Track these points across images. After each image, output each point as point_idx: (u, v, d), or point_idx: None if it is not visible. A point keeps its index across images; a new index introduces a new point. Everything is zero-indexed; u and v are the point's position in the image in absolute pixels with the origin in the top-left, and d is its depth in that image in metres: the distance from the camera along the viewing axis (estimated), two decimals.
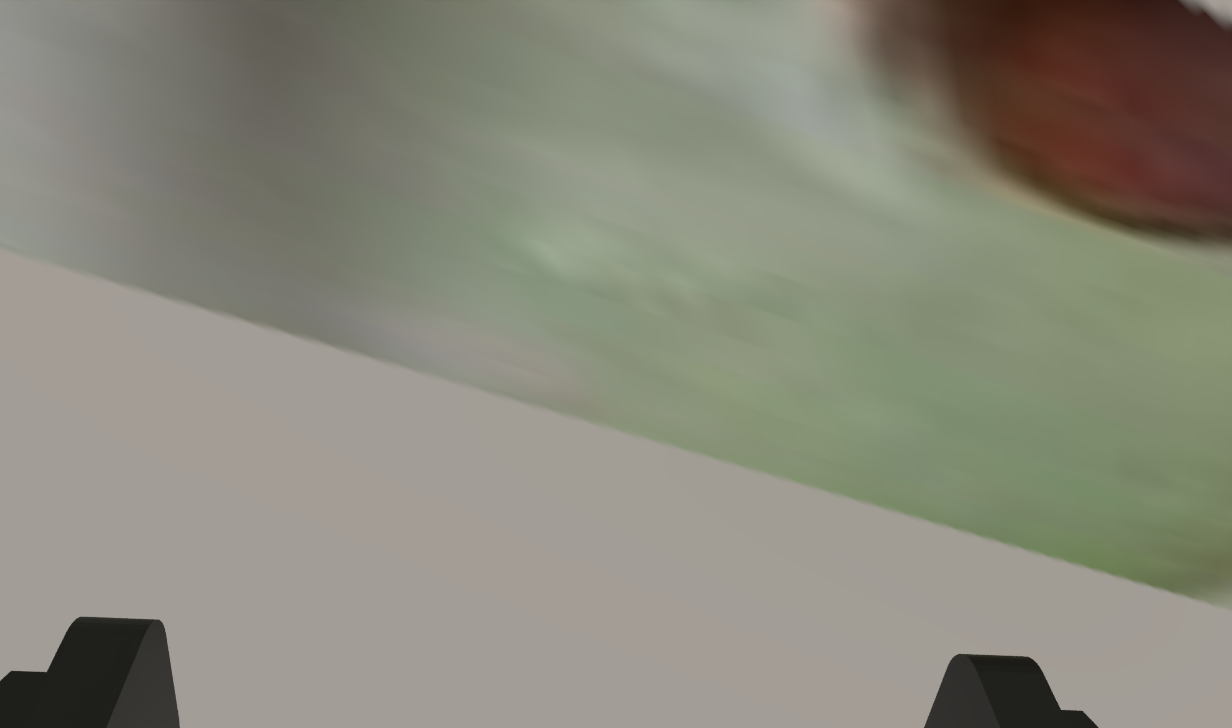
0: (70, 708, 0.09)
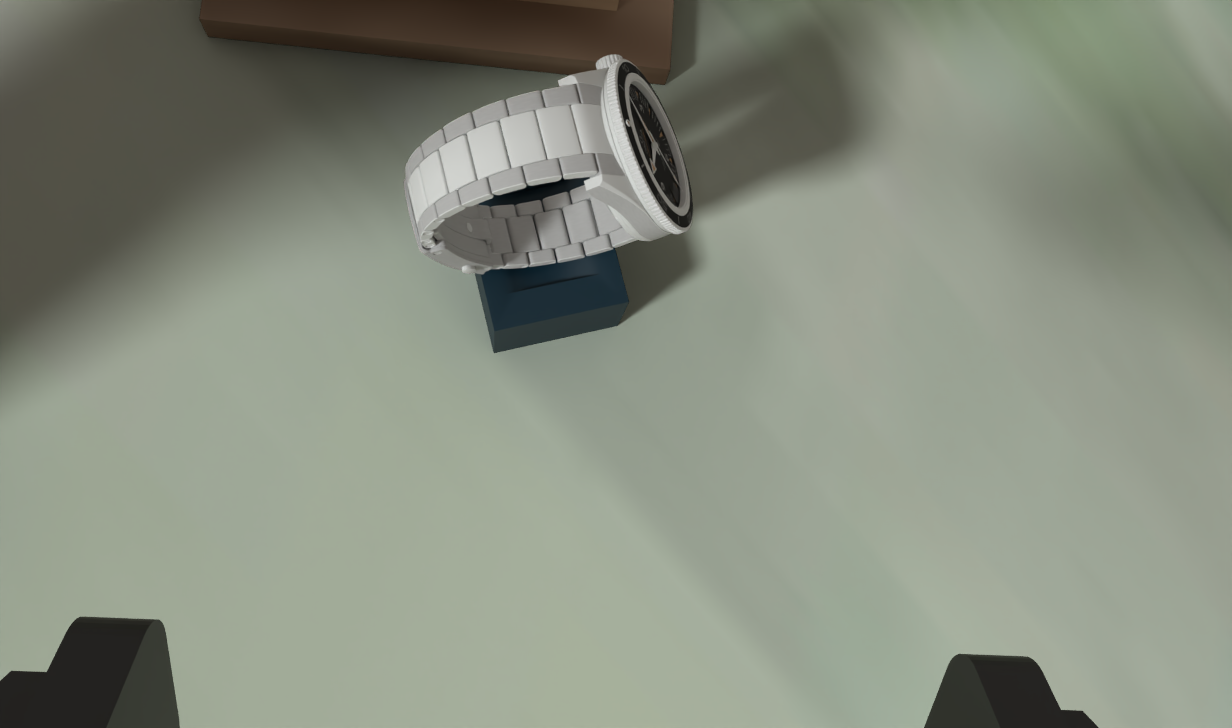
0: (70, 708, 0.09)
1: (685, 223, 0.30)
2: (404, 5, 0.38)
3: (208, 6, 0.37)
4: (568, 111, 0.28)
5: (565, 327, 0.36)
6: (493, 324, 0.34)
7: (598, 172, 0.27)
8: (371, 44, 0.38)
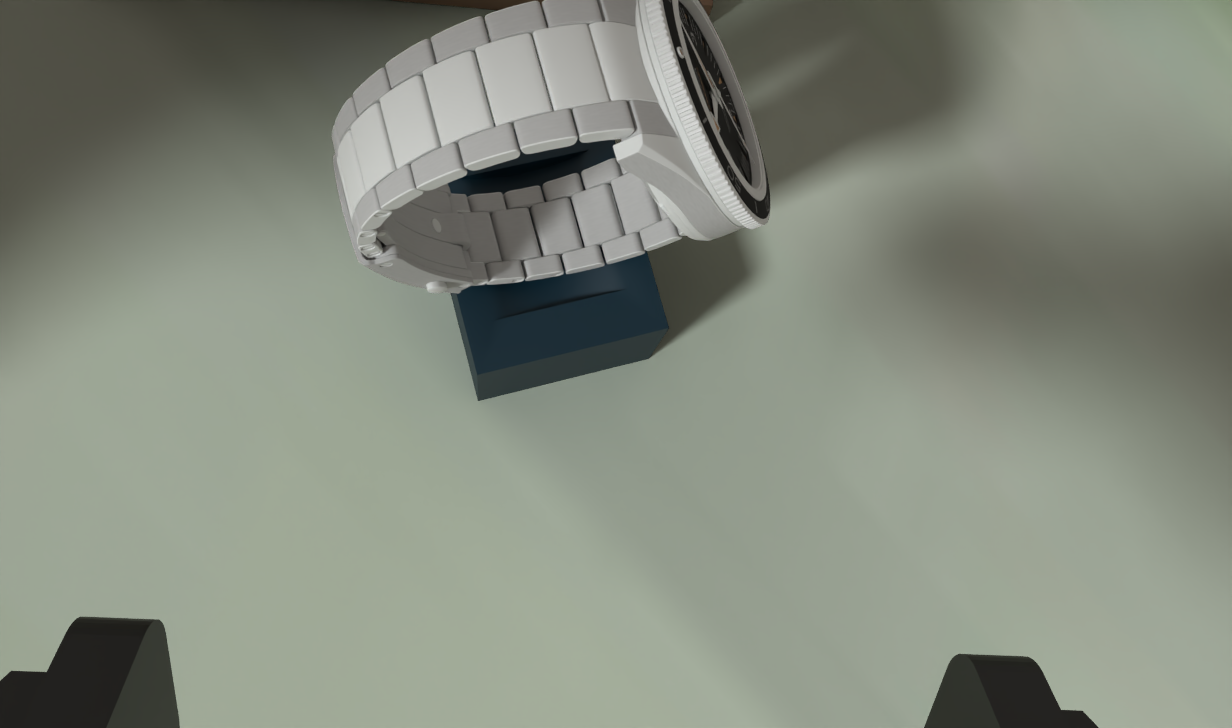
0: (70, 709, 0.09)
1: (764, 212, 0.20)
2: None
3: None
4: (584, 33, 0.17)
5: (578, 364, 0.26)
6: (475, 365, 0.24)
7: (635, 131, 0.17)
8: None
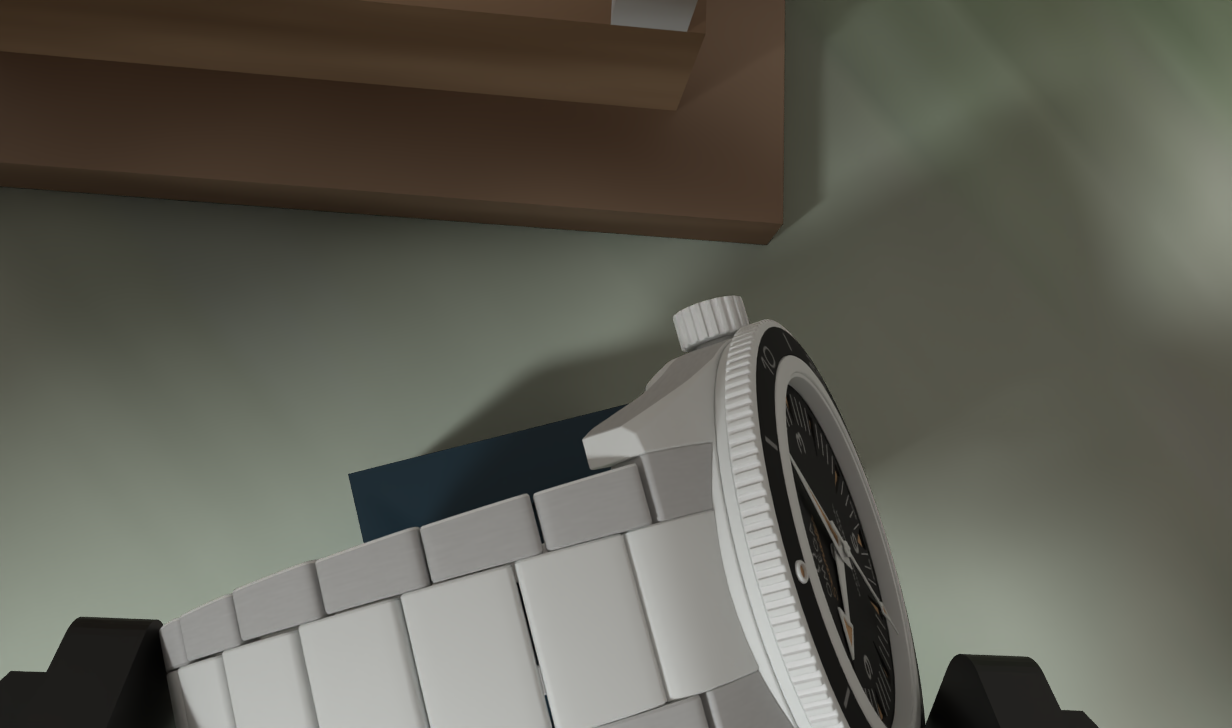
0: (70, 708, 0.09)
1: None
2: (257, 110, 0.19)
3: None
4: (618, 558, 0.09)
5: None
6: None
7: None
8: (195, 187, 0.19)
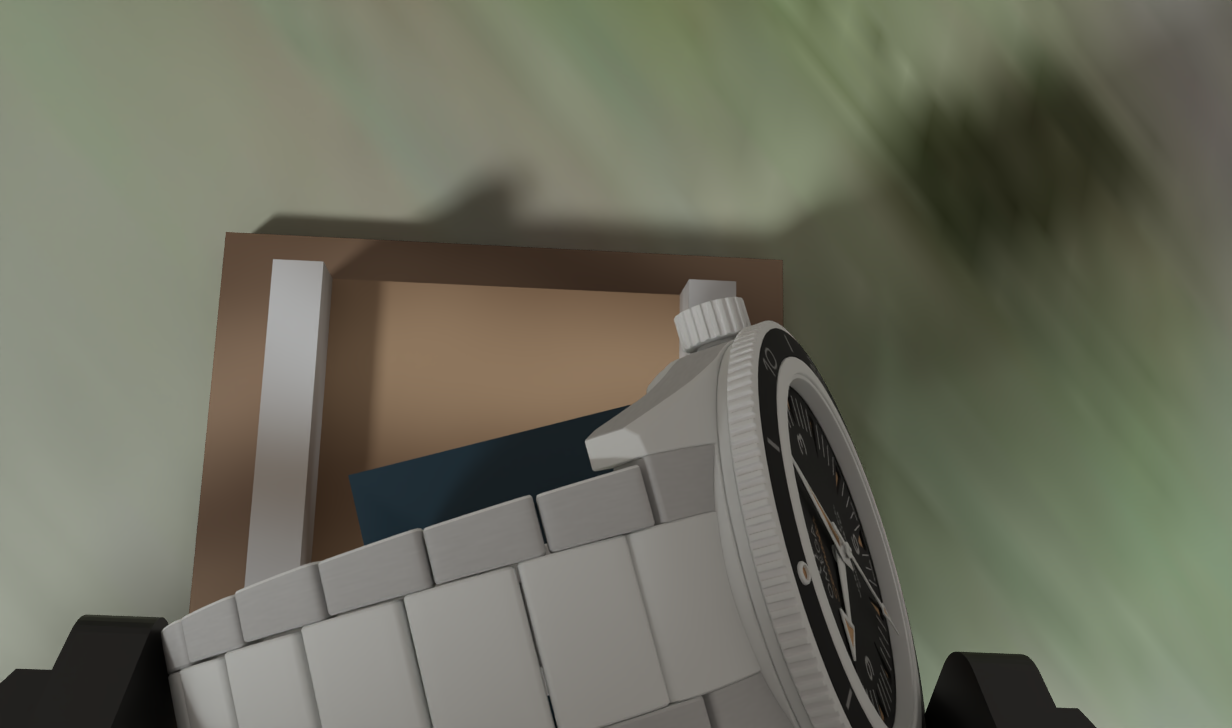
0: (76, 706, 0.09)
1: None
2: None
3: None
4: (621, 559, 0.09)
5: None
6: None
7: None
8: None
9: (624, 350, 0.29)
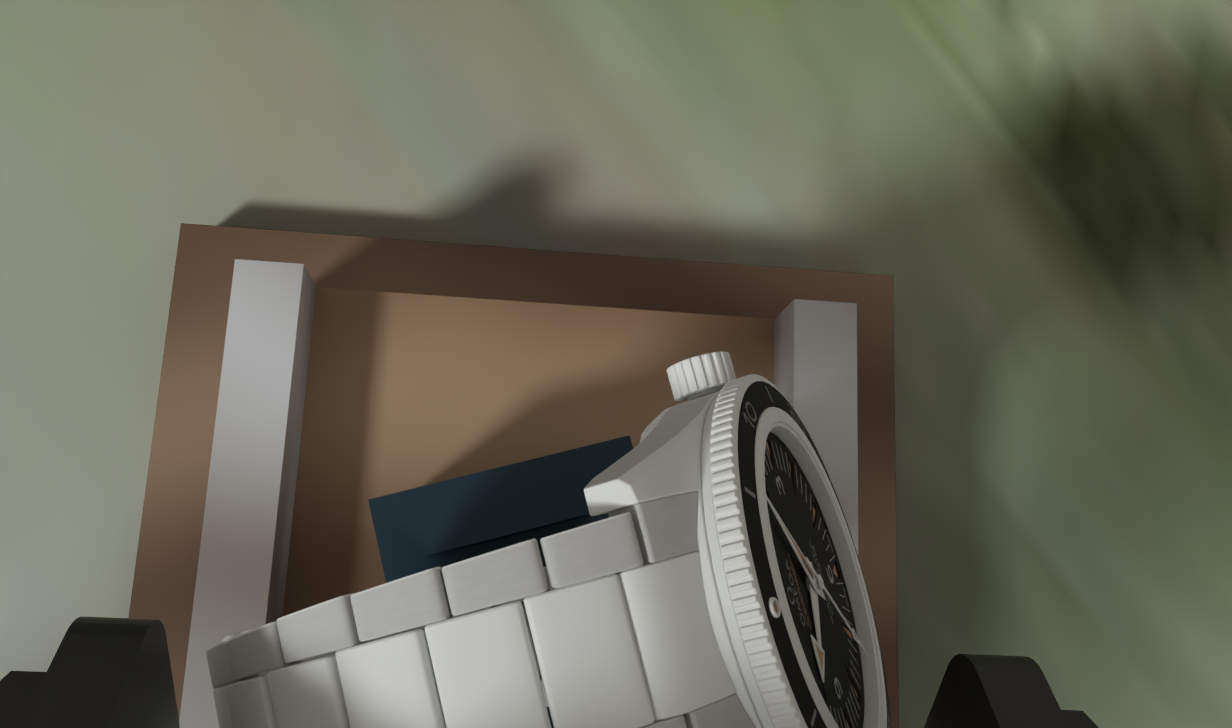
0: (70, 708, 0.09)
1: None
2: None
3: None
4: (613, 595, 0.10)
5: None
6: None
7: None
8: None
9: None
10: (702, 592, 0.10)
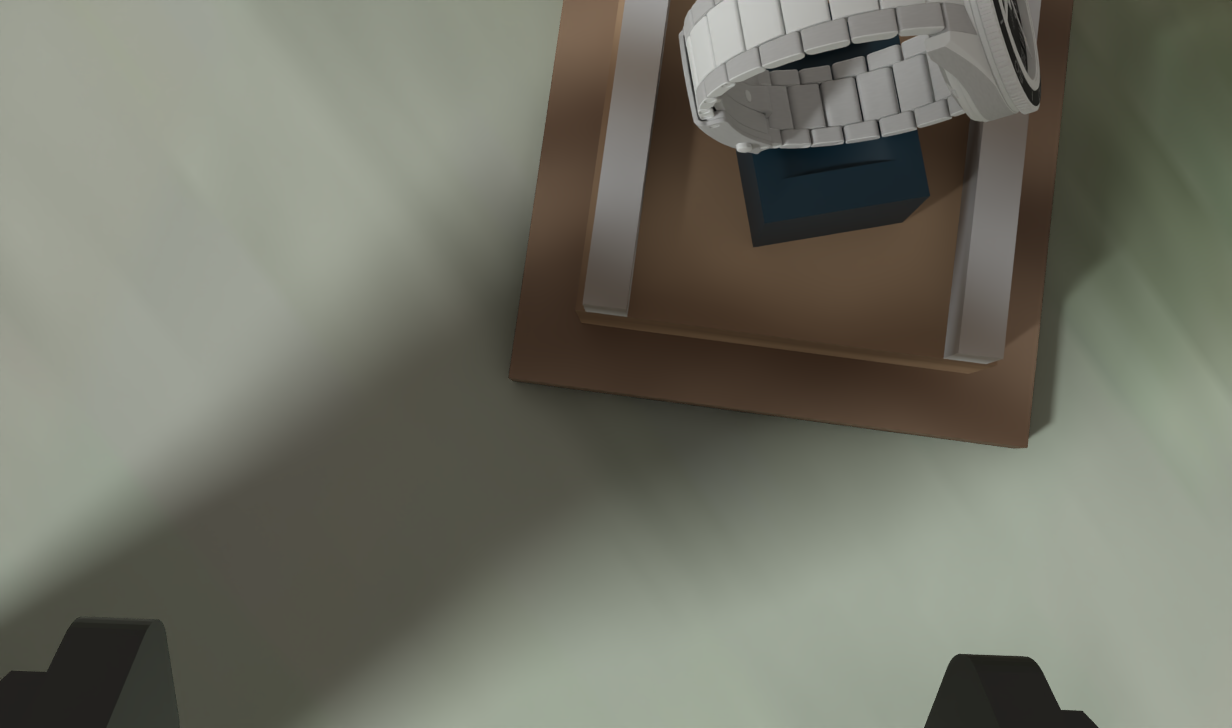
0: (70, 708, 0.09)
1: (1037, 100, 0.23)
2: (727, 364, 0.34)
3: (518, 363, 0.34)
4: None
5: (844, 222, 0.30)
6: (763, 215, 0.29)
7: (945, 28, 0.21)
8: (688, 403, 0.35)
9: None
10: None
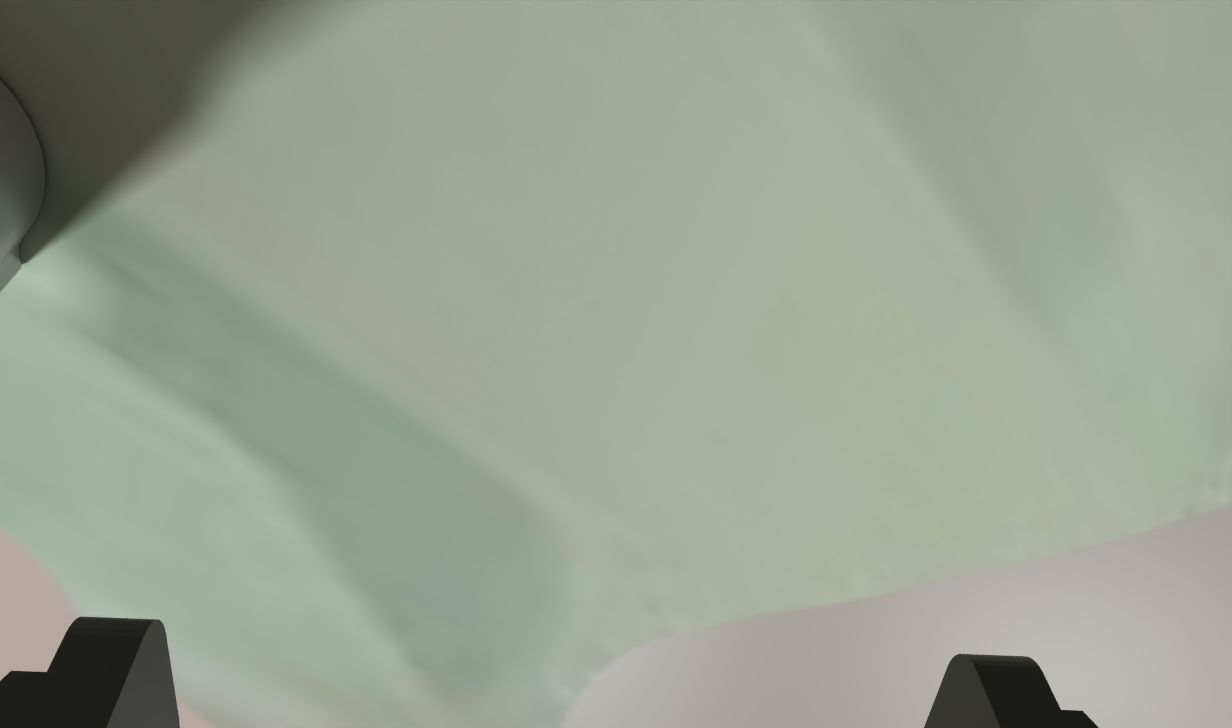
0: (70, 708, 0.09)
1: None
2: None
3: None
4: None
5: None
6: None
7: None
8: None
9: None
10: None
